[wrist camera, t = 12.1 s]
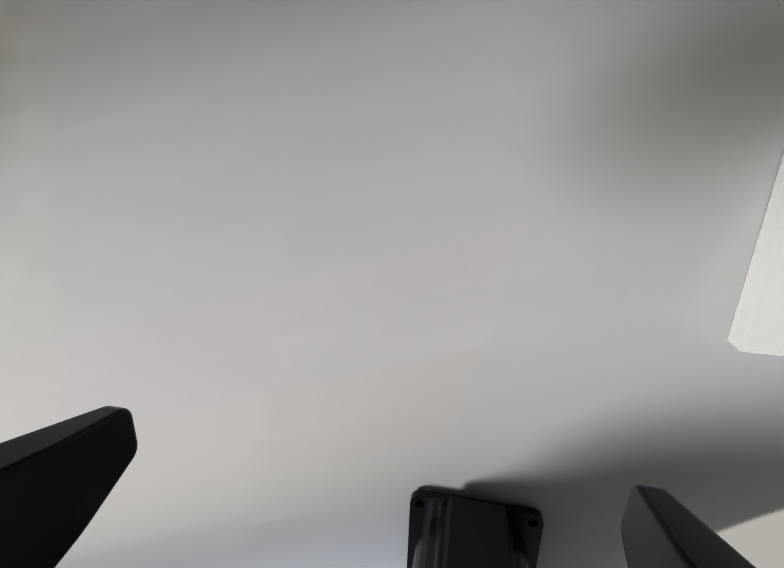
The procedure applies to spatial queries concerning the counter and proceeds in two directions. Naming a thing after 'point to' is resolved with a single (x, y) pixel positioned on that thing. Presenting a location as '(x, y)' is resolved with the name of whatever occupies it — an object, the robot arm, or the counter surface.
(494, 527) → the robot arm
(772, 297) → the socket board
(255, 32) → the counter surface
